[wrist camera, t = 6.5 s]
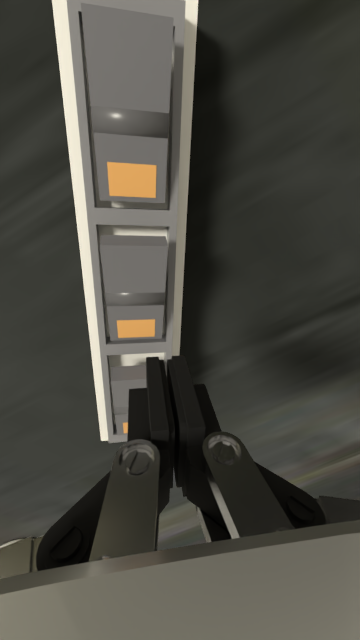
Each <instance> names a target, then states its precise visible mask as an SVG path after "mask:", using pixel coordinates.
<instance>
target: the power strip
mask: <svg viewBox="0 0 360 640" xmlns="http://www.w3.org/2000/svg"><path fill="white" fill-rule="evenodd" d="M81 3H86V4H93V5H99V6H105V7H111V8H117V9H123V10H130V11H136V12H142V13H148V14H154V15H160V16H167V17H173V18H174V21H173V42H172V63H171V84H170V105H169V133H168V148H167V169H166V190H165V203H149V202H126V201H103V200H100V196H99V186H98V176H97V165H96V155H95V145H94V135H93V127H92V118H91V104H90V93H89V83H88V73H87V63H86V52H85V42H84V32H83V22H82V11H81ZM52 4H53V13H54V22H55V31H56V40H57V49H58V58H59V67H60V76H61V85H62V94H63V103H64V112H65V121H66V130H67V139H68V148H69V157H70V166H71V175H72V184H73V193H74V202H75V211H76V220H77V229H78V238H79V247H80V256H81V265H82V274H83V283H84V292H85V300H86V309H87V318H88V327H89V336H90V345H91V354H92V363H93V372H94V381H95V390H96V399H97V408H98V417H99V426H100V435H101V441H106V440H108V441H109V443H114V442H124V441H127V436H128V434H127V435H117V428H116V420H115V414H114V404H113V396H112V387H111V368H112V367H118V366H135V365H146V357H159V360H164V365H165V371H166V377H167V359H171V358H172V356H179V353H180V334H181V316H182V297H183V278H184V259H185V240H186V221H187V202H188V183H189V164H190V146H191V127H192V108H193V89H194V70H195V51H196V32H197V13H198V0H52ZM101 235H136V236H166V240H167V244H168V255H167V270H166V285H165V304H164V315H163V330H162V339H139V340H115V341H111V340H110V331H109V323H108V314H107V306H106V299H105V288H104V279H103V270H102V262H101V253H100V240H101Z"/></svg>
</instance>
